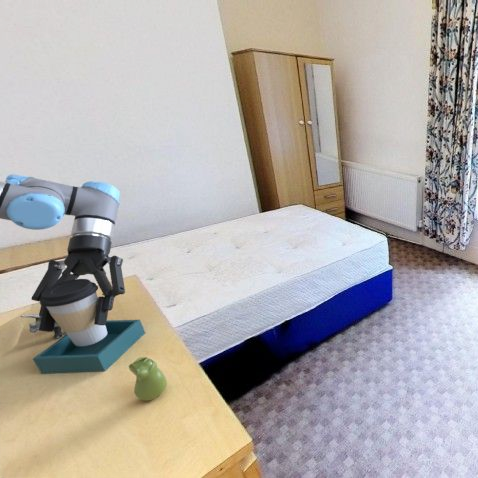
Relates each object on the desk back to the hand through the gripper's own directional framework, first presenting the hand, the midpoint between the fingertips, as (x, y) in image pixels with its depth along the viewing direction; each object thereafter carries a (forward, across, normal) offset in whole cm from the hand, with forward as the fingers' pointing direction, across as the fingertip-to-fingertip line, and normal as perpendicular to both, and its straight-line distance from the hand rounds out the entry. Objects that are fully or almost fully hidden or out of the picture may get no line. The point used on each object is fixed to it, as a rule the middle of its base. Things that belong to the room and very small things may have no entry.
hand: (73, 327), depth 74 cm
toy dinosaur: (-4, +14, -19) cm, 23 cm away
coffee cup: (+2, 0, -6) cm, 7 cm away
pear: (+18, -20, +4) cm, 27 cm away
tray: (+5, 0, -9) cm, 11 cm away
